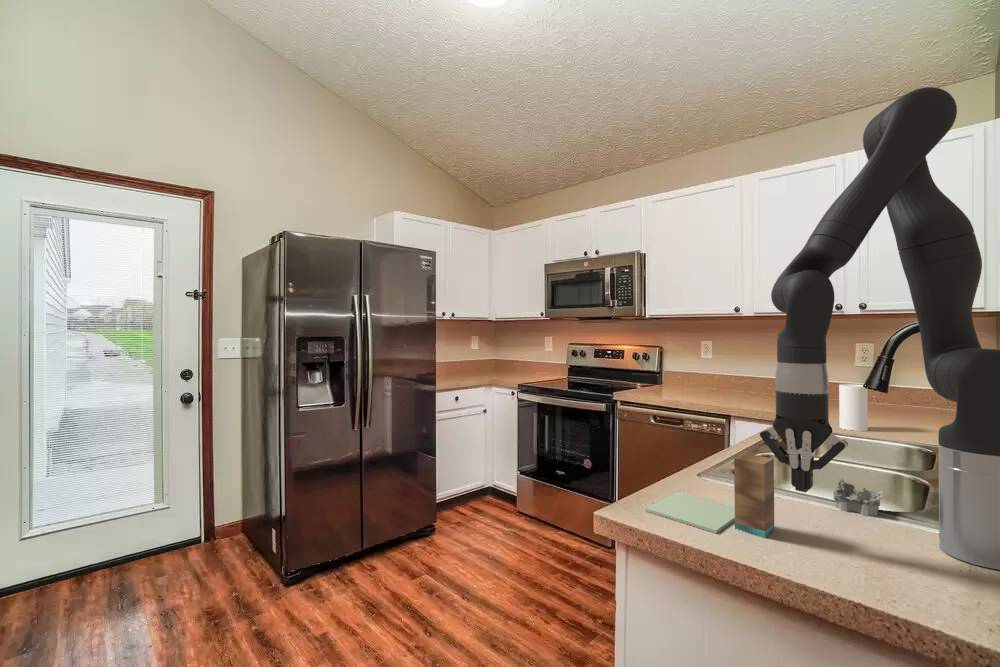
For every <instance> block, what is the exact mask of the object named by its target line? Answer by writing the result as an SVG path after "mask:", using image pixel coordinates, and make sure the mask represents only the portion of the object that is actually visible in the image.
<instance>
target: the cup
mask: <svg viewBox="0 0 1000 667" xmlns="http://www.w3.org/2000/svg"><path fill="white" fill-rule="evenodd" d="M863 385H864V384H853V383H852V384H850V383H842V384H841V383H839V385H838V389H839V390H838V397H839V399H838V408H839V409H838V412H839V413H838V414H839V415H838V416H839V420H838V421H839V424H838V425H839V429H841V428H842V430H844V429H846V430H845V431H850V430H854V431H853V432H868V431H869V419H868V418H869V412H868V411H869V410H868V409H869V408H868V405H869V403H868V402H869V399H868V396H869V394H868V390H869V389H865V388H864V387H863Z"/></svg>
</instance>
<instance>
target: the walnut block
mask: <svg viewBox="0 0 1000 667" xmlns="http://www.w3.org/2000/svg"><path fill="white" fill-rule="evenodd" d="M733 463H734V464H733V467H734V468H733V472H734V474H733V475H734V476H733V480H734V482H733V484H734V489H733V490H734V506H735V520H734V530H736V529H738V530H737V531H740V530H742V531H741V532H743V531H745V532H744V533H746V532H748V533H747V534H750V535H753V534H754V535H753V536H757V537H760V538H763V539H765V538H767V537H768V536H769V535H770V534H771V533H772V532H774V531H775V459H774V458H772V457H766V456H761V455H757V454H756V455H755V454H750V453H743V454H740V455H738V456H737V457H734V458H733Z"/></svg>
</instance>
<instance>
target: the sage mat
mask: <svg viewBox="0 0 1000 667" xmlns="http://www.w3.org/2000/svg"><path fill="white" fill-rule="evenodd" d="M645 512H646V513H649V514H653V515H655V514H656V516H659V515H660V516H659V517H662V516H664V517H663V518H665V517H667V518H666V519H668V518H670V519H669V520H671V519H673V520H672V521H674V520H676V522H678V521H679V522H678V523H681V522H682V523H681V524H684V523H685V524H684V525H687V524H688V526H690V525H691V526H690V527H693V526H694V527H693V528H697V527H698V528H697V529H700V528H701V529H700V530H703V529H704V530H703V531H706V530H707V532H709V531H710V533H712V532H713V534H715V533H716V534H718V533H719V532H721V531H722V530H723V529H724V528H726V527H728V526H729V525H730V524H732V523H733V522H735V505H730V504H726V503H722V502H720V501H715V500H711V499H707V498H705V497H700V496H695V495H693V494H690V493H685V492H680V491H677V492H675V493H673V494H672V495H670V496H667V497H666V498H663V499H662V500H660V501H657V502H656V503H654V504H651V505H649V506H647V507H646V508H645Z"/></svg>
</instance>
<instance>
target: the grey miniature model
mask: <svg viewBox="0 0 1000 667" xmlns="http://www.w3.org/2000/svg"><path fill="white" fill-rule="evenodd" d="M883 496H884V491H877V490H875V489H871V490H868V489H867V488H866V487H862V488H861V490H857V489H855V485H853V484H852V483H850V482H849V483H848V482H845V481H844V479H843V478H840V480H839V481H838V483H837V487H835V490H834V491H833V500H834V501H835V503H834V507H836V509H838V510H840V511H841V512H846V513H847V512H854V513H859V514H860V515H862V516H865V517H870V516H872V517H878V512H879V507H881V499H882V497H883Z"/></svg>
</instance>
